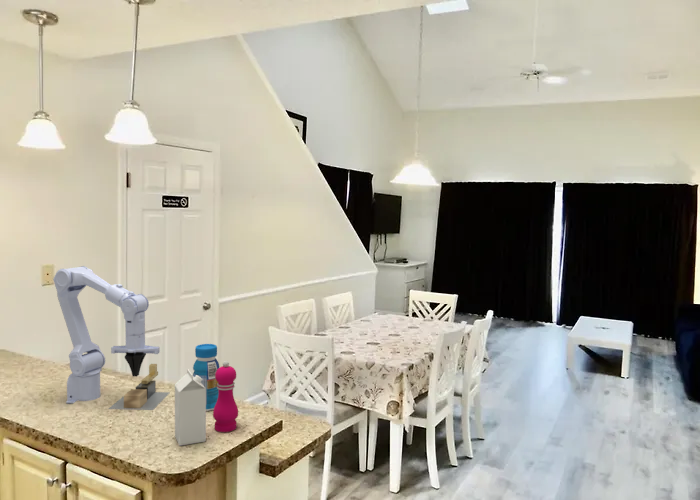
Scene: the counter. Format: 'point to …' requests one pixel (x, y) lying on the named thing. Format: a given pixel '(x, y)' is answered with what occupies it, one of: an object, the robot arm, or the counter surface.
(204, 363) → the beverage bottle
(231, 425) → the pepper mill
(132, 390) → the oak cover
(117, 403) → the housing plate
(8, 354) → the counter surface
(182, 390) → the milk carton
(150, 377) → the latch bolt
